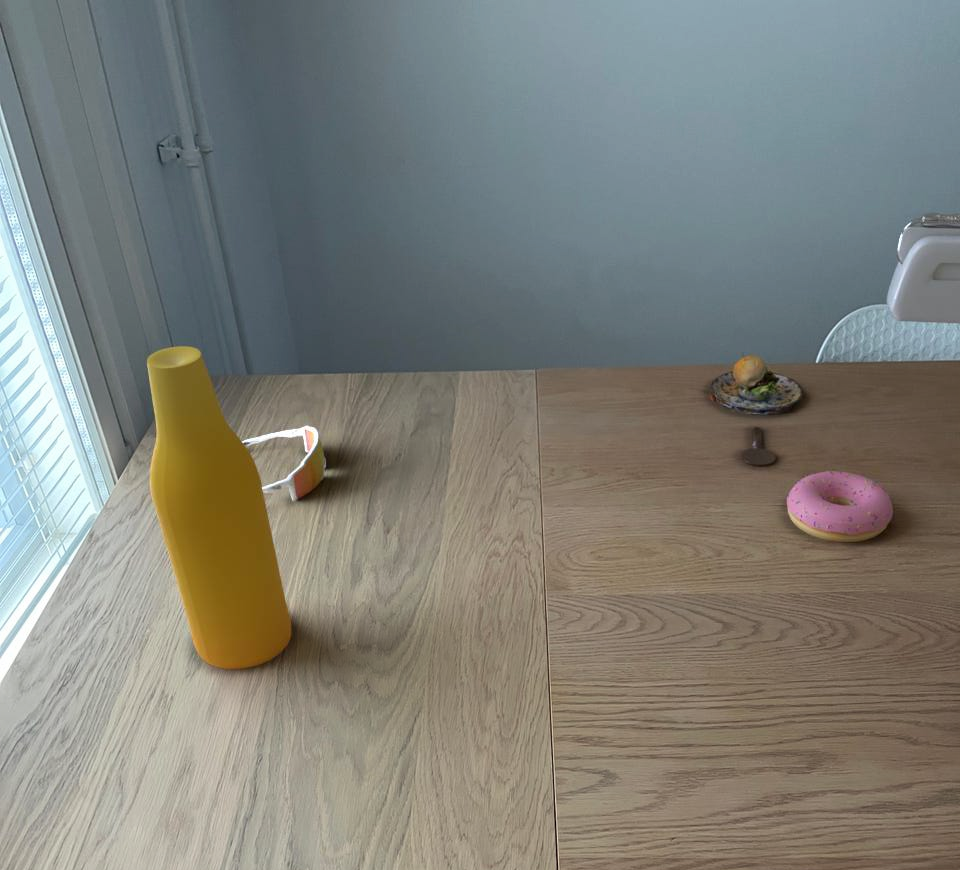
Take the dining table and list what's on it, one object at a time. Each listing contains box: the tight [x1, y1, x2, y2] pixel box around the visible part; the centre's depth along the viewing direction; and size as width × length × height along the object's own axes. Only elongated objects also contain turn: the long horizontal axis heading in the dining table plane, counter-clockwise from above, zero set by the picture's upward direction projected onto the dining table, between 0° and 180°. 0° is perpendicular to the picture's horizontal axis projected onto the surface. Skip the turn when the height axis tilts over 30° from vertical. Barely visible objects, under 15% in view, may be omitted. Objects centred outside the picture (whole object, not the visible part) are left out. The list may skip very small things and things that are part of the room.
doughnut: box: [786, 469, 894, 543], centre depth 105 cm, size 11×11×4 cm
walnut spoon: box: [740, 426, 777, 468], centre depth 119 cm, size 4×10×1 cm, turn 169°
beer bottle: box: [146, 345, 292, 670], centre depth 85 cm, size 9×9×29 cm
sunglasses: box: [242, 425, 327, 502], centre depth 118 cm, size 14×15×5 cm
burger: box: [709, 348, 804, 416], centre depth 128 cm, size 12×12×8 cm
